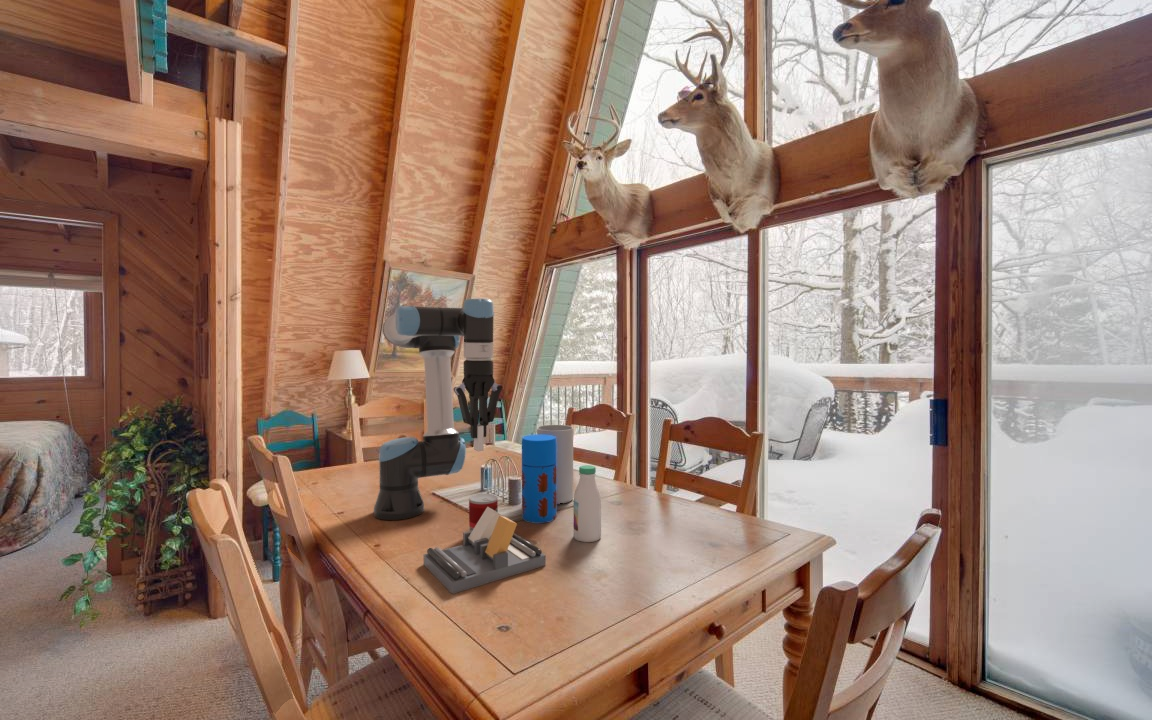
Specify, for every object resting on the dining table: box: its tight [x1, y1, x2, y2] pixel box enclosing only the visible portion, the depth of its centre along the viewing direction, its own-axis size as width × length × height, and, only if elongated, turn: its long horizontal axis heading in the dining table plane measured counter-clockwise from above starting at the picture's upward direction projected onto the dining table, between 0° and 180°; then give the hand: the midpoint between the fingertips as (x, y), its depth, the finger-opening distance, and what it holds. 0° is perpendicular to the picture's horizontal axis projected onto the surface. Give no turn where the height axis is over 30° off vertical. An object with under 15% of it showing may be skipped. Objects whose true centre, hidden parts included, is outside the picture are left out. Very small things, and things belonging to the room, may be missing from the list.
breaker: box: [468, 507, 503, 547], centre depth 130 cm, size 5×2×10 cm
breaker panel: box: [423, 530, 547, 595], centre depth 125 cm, size 18×24×6 cm
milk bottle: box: [573, 464, 602, 543], centre depth 142 cm, size 8×8×20 cm
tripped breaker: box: [485, 515, 518, 560], centre depth 121 cm, size 5×2×10 cm, turn 36°
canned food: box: [468, 493, 499, 538], centre depth 143 cm, size 8×8×11 cm
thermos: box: [521, 434, 558, 524], centre depth 158 cm, size 11×11×25 cm
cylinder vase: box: [536, 424, 574, 505], centre depth 176 cm, size 12×12×25 cm
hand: (478, 450), depth 132 cm, fingers closed
